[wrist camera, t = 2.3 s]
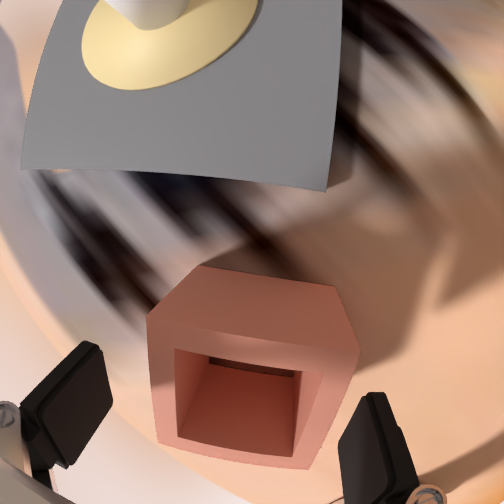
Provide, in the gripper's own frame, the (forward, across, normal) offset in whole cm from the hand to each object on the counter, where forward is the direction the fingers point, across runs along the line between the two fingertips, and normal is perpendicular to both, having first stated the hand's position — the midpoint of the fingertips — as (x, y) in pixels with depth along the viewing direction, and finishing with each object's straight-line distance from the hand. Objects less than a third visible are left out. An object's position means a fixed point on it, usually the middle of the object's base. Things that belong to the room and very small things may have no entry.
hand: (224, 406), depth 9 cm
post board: (+7, +6, -16) cm, 19 cm away
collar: (+6, -1, +1) cm, 7 cm away
